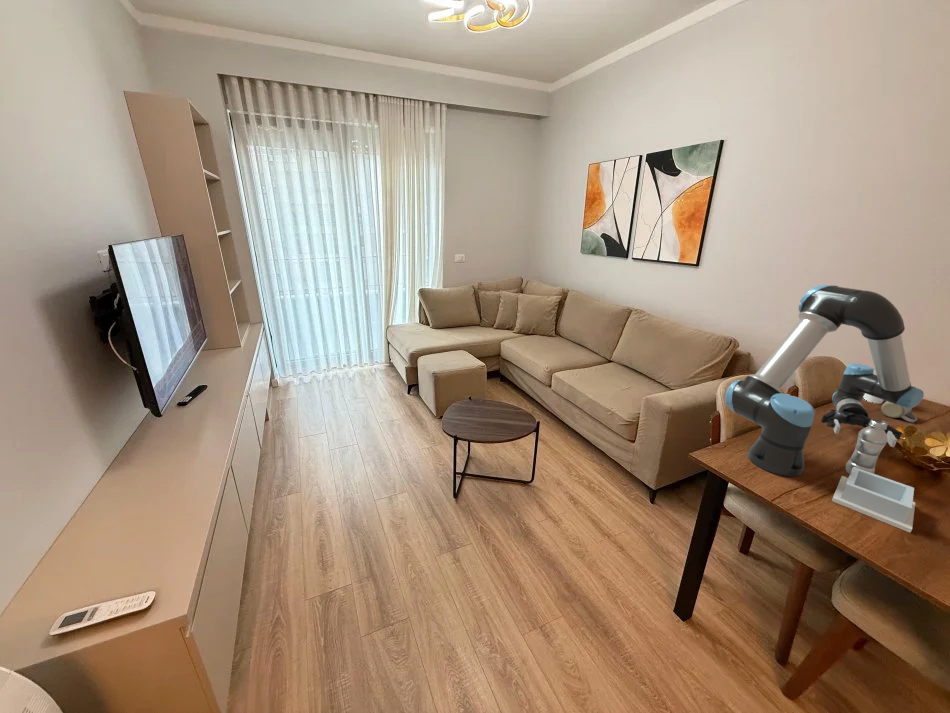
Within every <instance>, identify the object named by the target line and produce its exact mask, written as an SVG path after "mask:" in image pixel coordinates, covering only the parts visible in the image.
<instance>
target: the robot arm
mask: <svg viewBox="0 0 950 713" xmlns="http://www.w3.org/2000/svg"><path fill="white" fill-rule="evenodd" d="M798 311H799V313H798V318H799V320H798V322H797V323H796V324H795V326H794V327H793V328H792V329H791V330H790V332H789V333H787V335H786V337H785V338H784V339H783V340H782V341H781V343H780V344H779V345H778V346H777V348H775V349H774V351H773V352H772V354H770V356H769V357H768V358H767V359H766V360H765V362H764V363H763V364H762V365H761V366H760V368H759V369H758V370H757V372H755V373H754V374H748V375H747V376H746V377H745V378H744V379H741V380H740V379H738V380H735V381H733V382H732V383H731V384H730V385H729V386H728V387H727V389H726V392H725V394H724V402H725V405H726V406H727V408H728V409H729V410H730V411H732V412H733V413H735V414H736V415H738V416H741V417H743V418H745V419H746V420H748V421H750V422H752V423H754V424H756V425H758V426H760V427H761V432H760V435H759V437H758V439H756V441H755V442H754V443H753V444H752V445H751V446H750V447H749V450H748V453H747V458H748V459H749V460H750V461H751V462H752V463H753V464H754V465H756V466H757V467H759V468H760V469H762V470H765V471H768V472H770V473H772V474H776V475H780V476H786V477H797V476H801V475H802V474H803V472H804V470H805V466H806V465H805V460H804V459H805V458H804V447H805V444H807V440H808V437H809V434H810V431H811V428H812V426H813V424H814V422H815V415H816V411H815V408H814V407H813V406H812V404H811V403H809V402H808V401H806V400H804V399H802V398H800V397H798V396H795V395H791V394H788V393H783V392H782V387H783V386H784V385H785V383H787V381H788V380H789V378H791V376H792V375H793V374H794V373H795V372H796V370H797V369H799V367H800V365H802V364H803V362H804V361H805V360H806V359H807V357H808V356H809V355H810V354H811V352H813V351H814V349H815V348H816V347H817V345H819V343H820V342H821V341H822V340H823V338H824V337H825V336H826V335H827V334H828V333H831V332H836V331H837V330H838V329H839V328H840V327H841V325H846V326H849V327H850V326H852V327H854V328H856V329H858V330H860V332H861V335H862V336H863V337H864V338H865V339H866V340H867V341H868V346H869V350H870V354H871V358H872V361H873V364H874V365H873V366H874V368H873V367H872V366H869V365H867V364H862V363H856V362H855V363H849V364H847V366H846V367H845V370H844V372H843V375H842V377H841V381H840V383H839V385H838V388H837V390H836V391H835V392H834V393H833V394H832V397H831V401H832V403H833V404H832V405H833V406H834V407H835V409H833V408H832V409H831V410H830V411H829V412H827V413H825V414H823V415H822V417H821V420H820V422H821V423H822V424H823V423H827V424H826V427H829V428H832V429H833V431H834V434H835V435H839V433H840V430H841V424H843V425H846V424H848V425H851V426H859V427H862V428H865V427H868V426H869V423H870V421H871V419H872V418H871V417H869V414H868V412H867V410H866V408H865V407H864V404H862V401H863V400H864V399H863V396H864V394H865V393H866V394H869V395H871V396H874V397H877V398H880V399H882V400H884V401H885V402H887V401H888V402H891V403H893V404H895V405H900V406H903V407H906V408H912V409H913V408H915V407H916V406H918V405H919V404H920V403H921V402H922V400H923V398H924V396H925V393H924V390H922V389H920V388H918V387H916V386H912V383H911V379H910V373H909V368H908V363H907V358H906V352H905V348H904V343H903V338H902V335H903V333H904V332H905V330H906V329H905V322H904V319H903V317H902V314H901V313H900V312H899V310H898V308H897V307H896V306H895V305H894V304H893V303H892V302H891V301H890V300H889V299H888V298H886V297H885V296H883V295H882V294H880V293H877V292H875V291H871V290H862V289H856V288H849V287H842V286H838V285H833V284H832V285H828V284H827V285H826V284H821V285H817V286H814V287H812V288H810V289H809V290H808V291H806V292H805V293H804V294H803V296H802V297H801V298H800V300H799V304H798ZM874 371H876V374H877V375H874V374H873V373H874ZM878 419H879V420H882V419H880V418H878ZM884 431H885V433H886V435H887V437H888V441H887V443H888V445H889V446H890V447H892V448H895V446H896V444H897V442H898V440H899V441H900V439H901V437H902V436H903V432H902V431H900V430H898V429H897V428H895V427H893V426H892V425H890V424H888V425H887V429H886V430H884Z"/></svg>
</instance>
